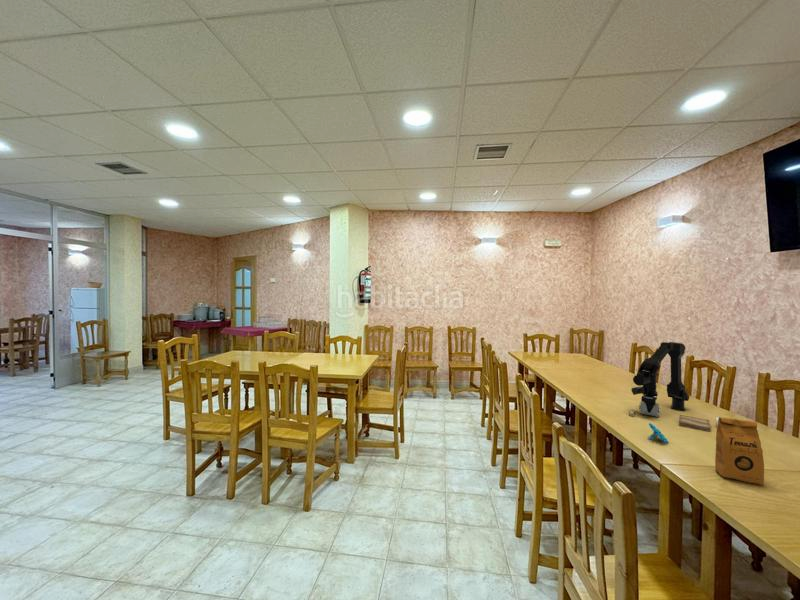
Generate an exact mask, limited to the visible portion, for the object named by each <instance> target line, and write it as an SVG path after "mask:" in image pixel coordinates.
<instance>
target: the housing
mask: <svg viewBox="0 0 800 600" xmlns="http://www.w3.org/2000/svg"><path fill="white" fill-rule="evenodd" d="M659 405H660V404H659V403H657V402H656V403H655V405H654V407H653V408H652V410H651V412H650V413H649V412H648V411H647V407H646V403H645V402H643V401H640V404H638V410H640V411H639V413H640V414H642V415H647V416H652V417H657V418H659V414H660V413H661V408H659V407H660V406H659Z"/></svg>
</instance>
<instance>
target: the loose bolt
mask: <svg viewBox="0 0 800 600" xmlns="http://www.w3.org/2000/svg"><path fill="white" fill-rule="evenodd" d="M628 415H629V417H634V416H635V410H633V409H632V410H631V411H628Z"/></svg>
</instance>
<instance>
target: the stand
mask: <svg viewBox="0 0 800 600" xmlns="http://www.w3.org/2000/svg"><path fill="white" fill-rule="evenodd" d="M678 417H679V418H678V426H679V427H683V428H687V429H693V430H698V431H702V432H706V433H707V432H709V433H711V424H710V420H709V419H706V418H700V417H695V416H689V415H684V414H679V416H678Z"/></svg>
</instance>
